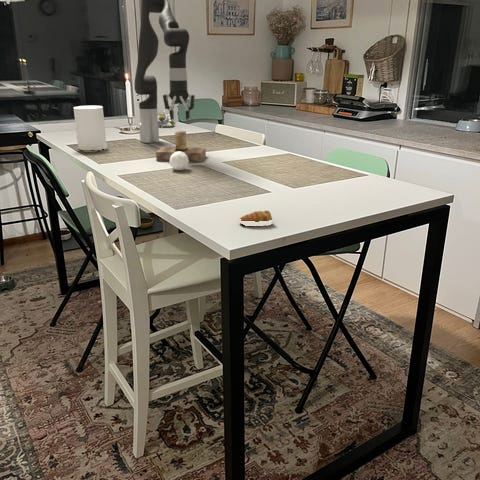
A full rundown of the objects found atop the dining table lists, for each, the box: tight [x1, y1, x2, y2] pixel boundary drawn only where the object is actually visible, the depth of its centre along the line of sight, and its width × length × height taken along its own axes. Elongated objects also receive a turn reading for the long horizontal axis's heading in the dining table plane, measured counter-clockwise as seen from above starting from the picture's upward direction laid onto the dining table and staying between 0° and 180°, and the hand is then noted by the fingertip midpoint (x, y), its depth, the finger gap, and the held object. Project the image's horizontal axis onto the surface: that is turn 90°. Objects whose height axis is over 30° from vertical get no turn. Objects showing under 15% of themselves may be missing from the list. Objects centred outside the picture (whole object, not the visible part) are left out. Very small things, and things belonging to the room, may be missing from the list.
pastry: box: [239, 210, 273, 222], centre depth 141 cm, size 9×7×4 cm
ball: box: [169, 151, 190, 171], centre depth 200 cm, size 8×8×8 cm
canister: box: [73, 105, 108, 151], centre depth 239 cm, size 14×14×20 cm
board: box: [155, 146, 207, 163], centre depth 221 cm, size 20×12×4 cm, turn 83°
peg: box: [174, 130, 187, 151], centre depth 219 cm, size 4×4×12 cm
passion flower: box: [158, 110, 176, 129], centre depth 306 cm, size 11×11×12 cm
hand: (179, 119), depth 215 cm, fingers open, 6 cm apart
